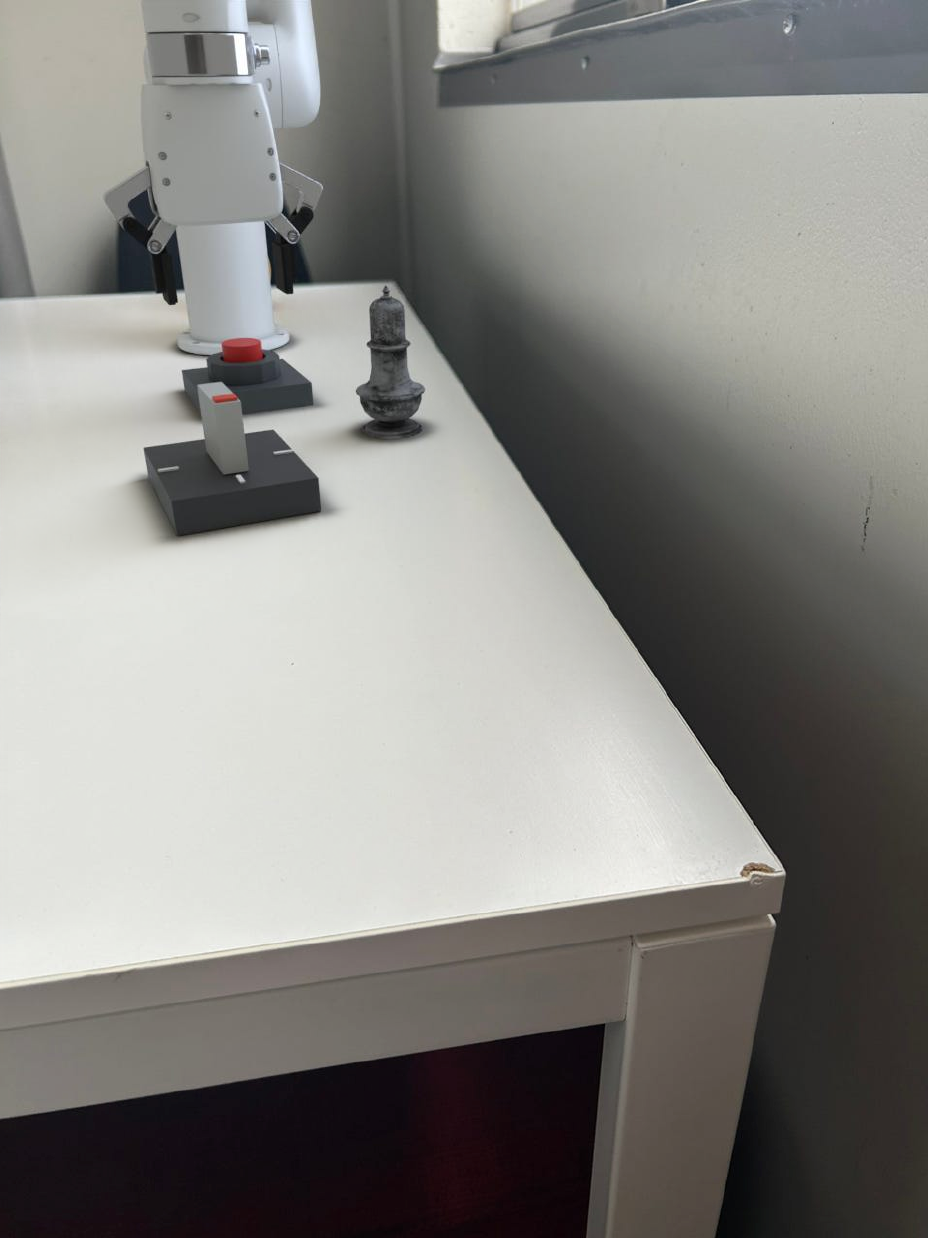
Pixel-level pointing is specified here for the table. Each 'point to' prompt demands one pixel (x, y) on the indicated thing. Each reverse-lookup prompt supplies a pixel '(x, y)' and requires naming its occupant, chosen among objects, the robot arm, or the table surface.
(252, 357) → the stop button
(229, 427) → the timer knob
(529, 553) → the table surface
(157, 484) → the dark grey base block
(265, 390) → the stop housing
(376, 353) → the salt shaker
